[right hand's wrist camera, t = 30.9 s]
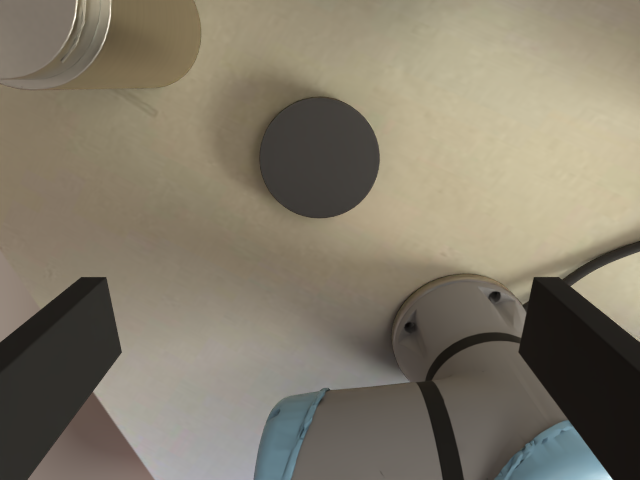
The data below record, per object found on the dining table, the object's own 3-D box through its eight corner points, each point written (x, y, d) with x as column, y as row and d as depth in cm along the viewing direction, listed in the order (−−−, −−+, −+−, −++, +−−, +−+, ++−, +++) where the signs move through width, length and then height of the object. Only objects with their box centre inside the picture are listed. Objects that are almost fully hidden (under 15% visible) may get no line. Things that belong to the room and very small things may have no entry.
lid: (277, 81, 38) (275, 81, 35) (391, 115, 39) (396, 117, 37) (252, 195, 42) (248, 201, 39) (356, 223, 43) (358, 230, 40)
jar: (223, 51, 37) (134, 20, 19) (133, 108, 39) (-25, 128, 21) (155, -67, 34) (-29, -236, 16) (60, 1, 35) (-199, -83, 18)
